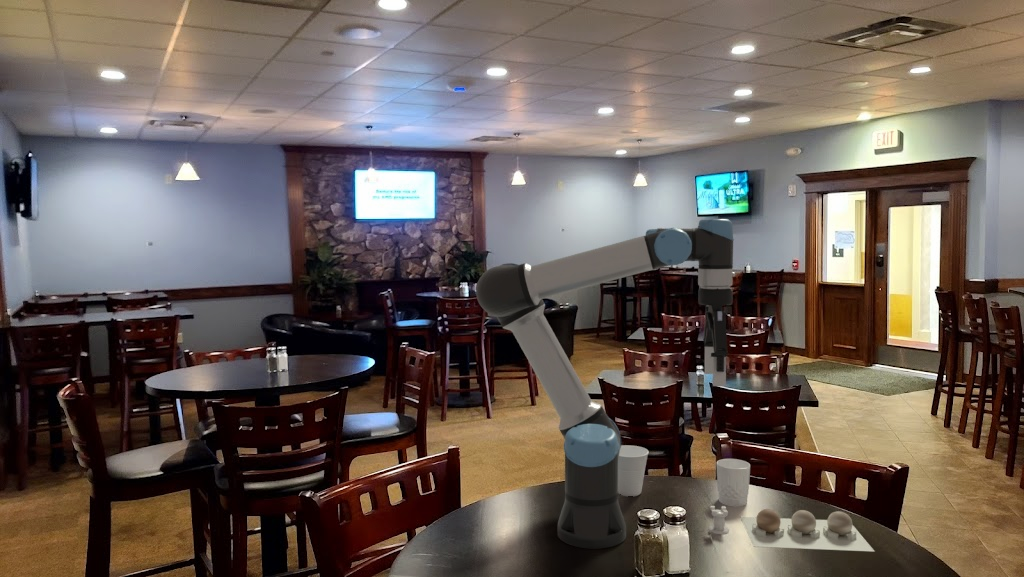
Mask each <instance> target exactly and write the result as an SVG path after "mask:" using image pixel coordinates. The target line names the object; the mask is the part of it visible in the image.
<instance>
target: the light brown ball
mask: <svg viewBox="0 0 1024 577" xmlns="http://www.w3.org/2000/svg"><path fill="white" fill-rule="evenodd" d="M756 517H757V519H756V521H757V525H758V527H759V528H760V529H762V530H765V531H766V532H767V533H773V532H775V531H776V530H778V529H779V527H780V523H781V522H780V518H781V517H780V516H779V514H778V512H776V511H775V510H773V509H770V508H765V509H761V510H760V511H759V512H758V513H757V516H756Z"/></svg>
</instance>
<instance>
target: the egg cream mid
mask: <svg viewBox="0 0 1024 577" xmlns="http://www.w3.org/2000/svg"><path fill="white" fill-rule="evenodd" d="M791 519H792V525H793V527H794V529H795V530H797V531H800V532H802V534H809V533H811V532H812V531H814V529H815V527H816V520H817V519H816V517H815V516H814V514H813V513H812V512H810V511H808V510H804V509H800V510H797V511H796V512H794V513H793V515H792V516H791Z"/></svg>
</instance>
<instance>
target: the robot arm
mask: <svg viewBox="0 0 1024 577" xmlns="http://www.w3.org/2000/svg"><path fill="white" fill-rule="evenodd" d="M684 262H698V268H697V270H698V272H697V277H698V278H697V285H698V286H699V289H698V290H697V291H698V293H697V295H698V297H697V298H698V305H702V306H705V314H704V316H705V317H704V318H705V319H704V329H703V330H704V331H703V339H702V340H703V344H704V374H705V375H712V387H726V386H727V356H729V350H728V337H727V323H726V322H727V320H726V315H727V312H726V311H725V310H723V306H731V305H732V304H733V298H734V297H733V291H734V289H732V288H731V287H732V286H733V283H734V282H733V278H735V277H736V272H733V268H734V229H733V222H732V220H730V219H728V218H716V219H714V218H712V219H711V218H710V219H708V218H706V219H700V220H699V222H698V225H697V227H693V228H680V227H668V228H662V227H659V228H651V229H647V230H646V232H645V235H641V236H638V237H634V238H629V239H627V240H623V241H620V242H615V243H612V244H608V245H605V246H601V247H597V248H593V249H590V250H586V251H583V252H578V253H575V254H571V255H568V256H564V257H560V258H557V259H554V260H549V261H546V262H545V261H544V262H542V263H538V264H535V265H531V264H529V263H527V262H525V263H521V264H517V263H511V262H509V263H507V262H506V263H502V264H501V265H498V266H494V267H491V268H489V269H487V270H486V271H484V273H483V274H482V275H481V276H480V277H479V279H478V281H477V283H476V289H475V294H476V299H477V302H478V304H479V306H480V307H481V308H482V309H483V310H484V311H485V312H486V313H487V314H490V315H491V316H494V317H496V319H497V320H498V322H499V323H500V325H501V327H502V329H504V330H508V331H510V332H511V333H512V334H513V336H514V338H515V339H516V342H517V343H518V344H519V347H520V348H521V350H522V352H523V353H524V355H525V357H526V359H527V360H528V363H529V364H530V366H531V368H532V370H533V372H534V373H535V375H536V377H537V378H538V381H539V382H540V384H541V386H542V388H543V390H544V391H545V393H546V395H547V397H548V399H549V401H550V403H551V404H552V406H553V407H554V410H555V411H556V413H557V415H558V416H559V418H560V419H559V420H560V421H559V425H558V430H559V432H560V433H561V435H562V437H563V438H564V442H563V452H564V503H563V505H562V508H561V511H560V514H559V518H558V521H557V530H556V531H557V537H558V539H560V540H561V541H562V542H564V543H565V544H568V545H570V546H573V547H576V548H579V549H580V548H581V549H588V550H589V549H592V550H595V549H596V550H597V549H600V550H601V549H606V548H612V547H615V546H618V545H619V544H622V543H623V542H624V541H625V540H626V539H627V525H626V520H625V518H624V516H623V515H624V514H623V512H622V509H621V507H620V504H619V493H618V459H619V453H620V448H621V446H622V438H621V432H620V430H619V428H618V426H617V425H616V423H615V422H614V420H613V419H611V418H610V417H609V416H608V414H607V412H606V411H605V409H604V407H603V406H602V404H601V403H598V402H595V401H593V400H592V399H591V397H590V395H589V393H588V391H587V390H586V388H585V386H584V385H583V383H582V381H581V379H580V378H579V376H578V374H577V372H576V370H575V369H574V367H573V365H572V363H571V361H570V359H569V357H568V355H567V354H566V352H565V350H564V348H563V347H562V345H561V343H560V342H559V340H558V337H557V336H556V334H555V332H554V331H553V328H552V327H551V325H550V324H549V321H548V320H547V318H546V316H545V315H544V310H545V308H546V304H545V302H544V300H543V299H546V298H551V297H554V296H558V295H562V294H566V293H570V292H573V291H577V290H582V289H585V288H587V287H592V286H596V285H600V284H604V283H607V282H611V281H615V280H618V279H622V278H627V277H629V276H633V275H638V274H641V273H645V272H649V271H652V270H653V271H654V270H657V269H661V268H665V267H669V266H677V265H680V264H683V263H684Z"/></svg>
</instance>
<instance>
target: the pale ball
mask: <svg viewBox="0 0 1024 577" xmlns="http://www.w3.org/2000/svg"><path fill="white" fill-rule="evenodd" d="M826 520H827V524H828V527H829V529H830V530H831V531H832V532H835V533H838V534H839V535H846V534H848V533H849V532H850V531H851V530H852V526H854V525H853V520H852V518H851V517H850V515H849V514H847V513H846V512H844V511H837V510H836V511H833V512H831V513H830V514H829V515H828V517H827V519H826Z"/></svg>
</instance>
